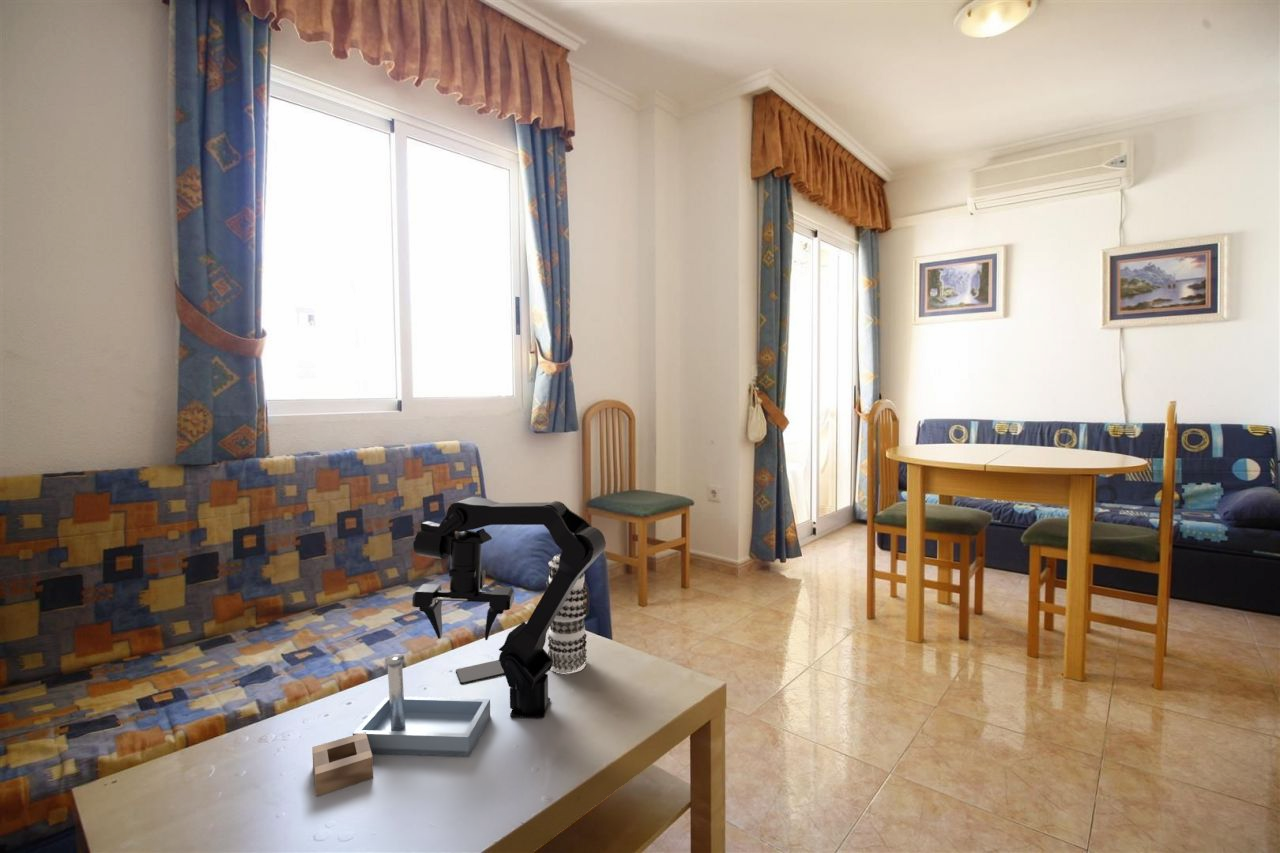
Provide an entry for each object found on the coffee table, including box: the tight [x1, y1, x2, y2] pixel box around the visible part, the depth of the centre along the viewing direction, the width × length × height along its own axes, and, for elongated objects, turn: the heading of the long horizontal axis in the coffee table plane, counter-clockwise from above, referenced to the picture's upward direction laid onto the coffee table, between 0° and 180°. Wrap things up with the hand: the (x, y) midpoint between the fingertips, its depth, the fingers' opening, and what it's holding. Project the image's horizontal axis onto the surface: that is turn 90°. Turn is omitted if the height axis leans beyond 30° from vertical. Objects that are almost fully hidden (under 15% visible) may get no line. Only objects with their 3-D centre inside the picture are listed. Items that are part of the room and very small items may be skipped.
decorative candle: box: [545, 553, 588, 673], centre depth 131 cm, size 9×9×25 cm
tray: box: [352, 695, 491, 758], centre depth 105 cm, size 20×12×4 cm, turn 87°
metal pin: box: [384, 653, 405, 731], centre depth 105 cm, size 3×3×13 cm
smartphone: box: [455, 659, 505, 685], centre depth 129 cm, size 7×1×15 cm
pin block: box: [311, 733, 374, 797], centre depth 95 cm, size 8×8×4 cm
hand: (463, 638), depth 117 cm, fingers open, 9 cm apart
